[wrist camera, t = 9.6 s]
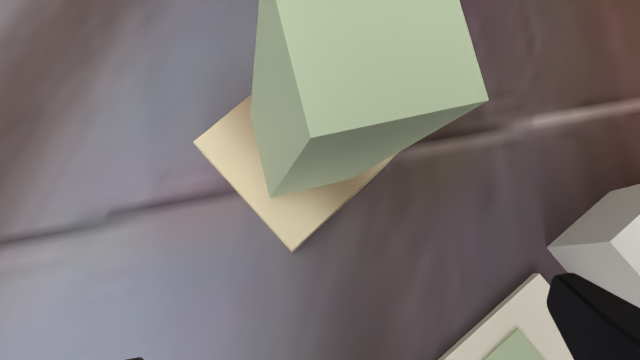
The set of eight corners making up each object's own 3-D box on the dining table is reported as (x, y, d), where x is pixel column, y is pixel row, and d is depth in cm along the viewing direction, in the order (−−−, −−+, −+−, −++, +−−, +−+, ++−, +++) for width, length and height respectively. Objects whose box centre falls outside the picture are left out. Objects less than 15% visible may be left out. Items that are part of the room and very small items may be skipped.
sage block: (351, 179, 21) (488, 99, 10) (269, 198, 20) (310, 137, 9) (330, 99, 22) (438, -70, 10) (249, 115, 21) (263, -49, 9)
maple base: (292, 253, 23) (291, 250, 20) (205, 157, 24) (193, 142, 21) (386, 166, 25) (398, 152, 22) (300, 78, 25) (301, 52, 22)
